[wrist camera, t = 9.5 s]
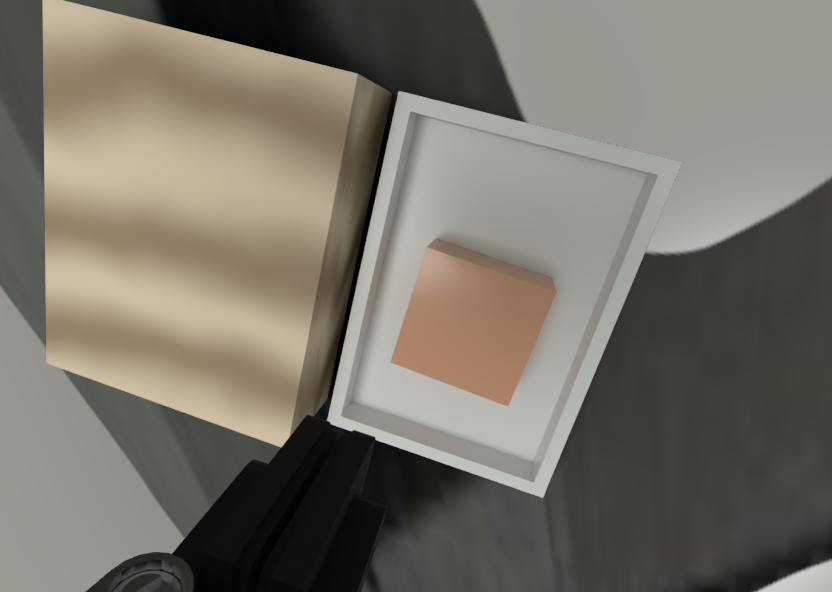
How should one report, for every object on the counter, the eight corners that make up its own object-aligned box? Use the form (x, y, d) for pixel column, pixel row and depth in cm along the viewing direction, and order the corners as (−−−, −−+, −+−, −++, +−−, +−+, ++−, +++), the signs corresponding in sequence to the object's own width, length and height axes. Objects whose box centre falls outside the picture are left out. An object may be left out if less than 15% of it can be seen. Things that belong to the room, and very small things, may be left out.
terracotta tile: (556, 292, 24) (552, 277, 26) (426, 247, 24) (435, 238, 27) (508, 406, 26) (508, 382, 29) (390, 362, 26) (402, 343, 29)
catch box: (409, 97, 26) (398, 90, 23) (666, 162, 24) (682, 162, 22) (340, 403, 32) (326, 422, 30) (540, 471, 30) (542, 497, 28)
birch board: (138, 29, 28) (42, -5, 22) (392, 93, 26) (357, 73, 20) (124, 329, 34) (46, 363, 28) (327, 398, 32) (287, 449, 27)
